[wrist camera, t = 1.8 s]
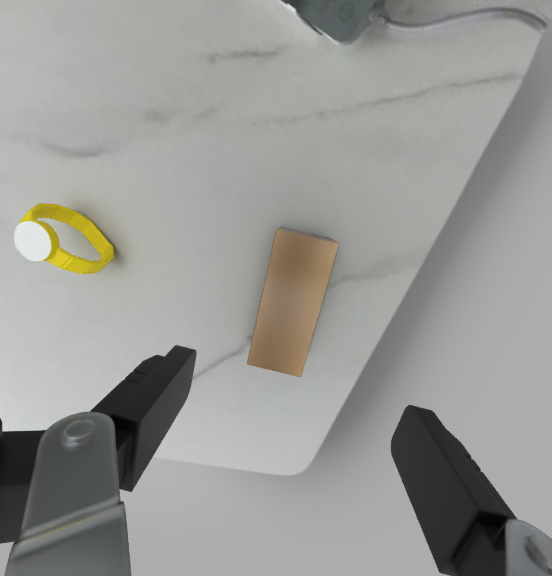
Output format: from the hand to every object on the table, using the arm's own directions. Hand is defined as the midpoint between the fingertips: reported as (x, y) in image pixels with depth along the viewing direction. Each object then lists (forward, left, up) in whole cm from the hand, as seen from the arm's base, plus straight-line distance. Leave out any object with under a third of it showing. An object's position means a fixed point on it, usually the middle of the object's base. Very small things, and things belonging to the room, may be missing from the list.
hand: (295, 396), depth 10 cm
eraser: (0, 0, -14) cm, 14 cm away
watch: (+18, -1, -15) cm, 23 cm away
